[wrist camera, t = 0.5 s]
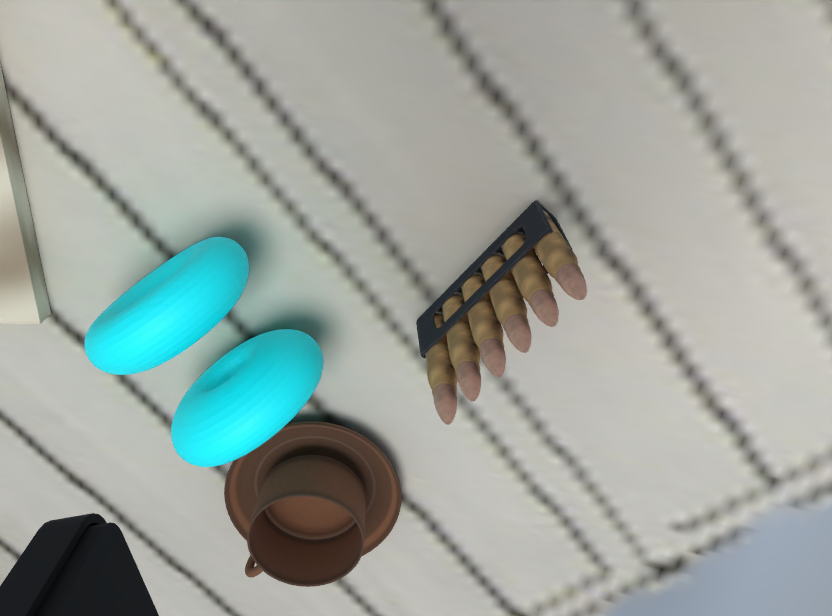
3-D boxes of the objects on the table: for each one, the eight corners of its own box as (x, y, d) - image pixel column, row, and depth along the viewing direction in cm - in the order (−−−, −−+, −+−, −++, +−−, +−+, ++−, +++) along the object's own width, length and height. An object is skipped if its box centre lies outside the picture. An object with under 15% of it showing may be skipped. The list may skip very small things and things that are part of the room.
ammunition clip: (436, 339, 46) (448, 446, 35) (415, 321, 46) (420, 425, 35) (557, 219, 43) (611, 295, 32) (535, 199, 43) (583, 269, 32)
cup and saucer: (356, 568, 54) (351, 636, 48) (205, 512, 51) (181, 576, 46) (430, 449, 50) (434, 507, 44) (270, 381, 47) (252, 434, 42)
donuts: (241, 207, 42) (199, 266, 33) (339, 334, 46) (325, 419, 37) (114, 293, 44) (40, 370, 35) (216, 408, 48) (174, 506, 39)
